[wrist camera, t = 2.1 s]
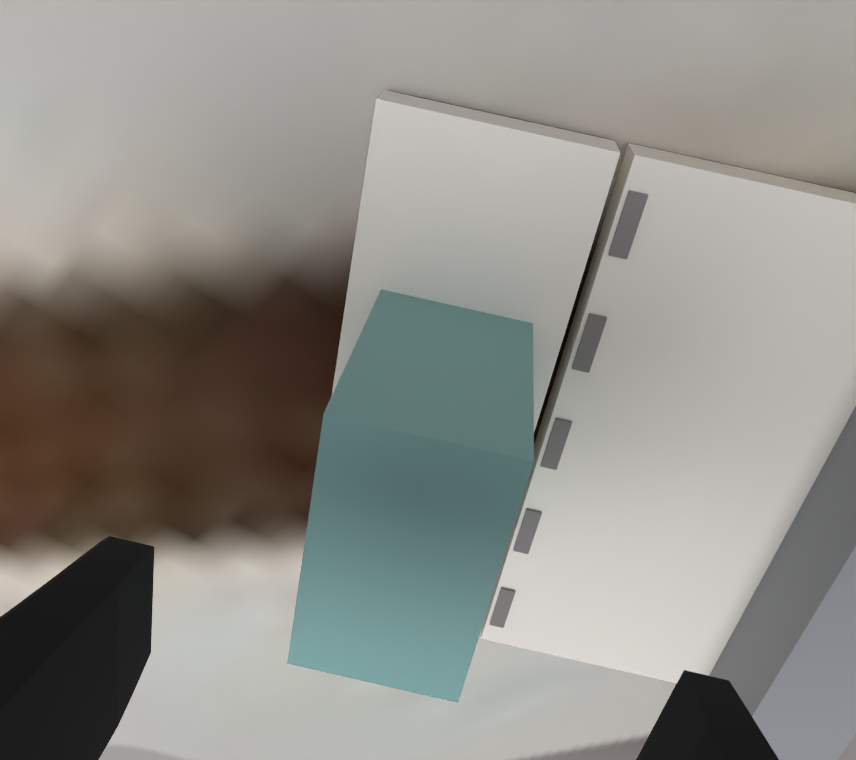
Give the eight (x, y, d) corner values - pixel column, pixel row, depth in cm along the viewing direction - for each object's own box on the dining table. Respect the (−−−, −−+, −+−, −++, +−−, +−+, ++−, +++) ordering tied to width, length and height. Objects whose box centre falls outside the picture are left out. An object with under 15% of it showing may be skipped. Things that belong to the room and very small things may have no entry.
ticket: (1070, 188, 16) (1208, 245, 13) (762, 696, 24) (799, 812, 20) (642, 94, 16) (671, 126, 13) (475, 631, 24) (467, 736, 20)
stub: (614, 140, 16) (662, 238, 11) (473, 608, 23) (454, 825, 17) (385, 90, 16) (305, 158, 11) (311, 571, 23) (237, 775, 17)
